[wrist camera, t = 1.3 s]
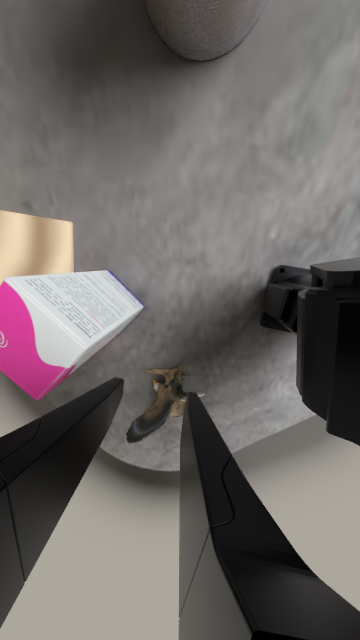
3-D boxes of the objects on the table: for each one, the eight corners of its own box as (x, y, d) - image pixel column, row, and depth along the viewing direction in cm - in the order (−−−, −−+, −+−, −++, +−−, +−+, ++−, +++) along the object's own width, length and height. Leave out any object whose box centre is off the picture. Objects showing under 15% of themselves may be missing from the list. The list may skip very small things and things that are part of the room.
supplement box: (107, 267, 20) (3, 272, 9) (146, 306, 21) (93, 351, 10) (77, 303, 22) (-43, 343, 11) (115, 338, 23) (39, 407, 12)
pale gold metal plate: (73, 222, 19) (70, 221, 19) (74, 344, 23) (72, 345, 23) (-10, 209, 19) (-14, 208, 19) (6, 331, 24) (3, 332, 23)
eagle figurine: (135, 353, 22) (116, 421, 23) (160, 386, 16) (133, 476, 17) (187, 357, 26) (169, 414, 27) (222, 385, 20) (197, 457, 21)
